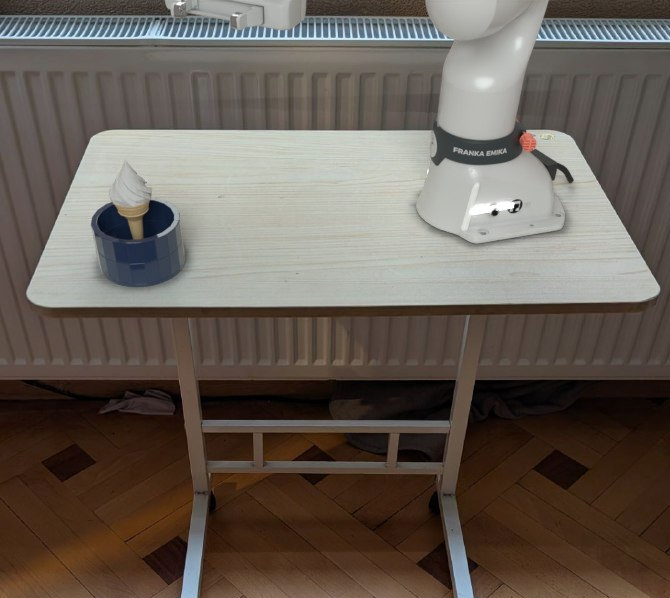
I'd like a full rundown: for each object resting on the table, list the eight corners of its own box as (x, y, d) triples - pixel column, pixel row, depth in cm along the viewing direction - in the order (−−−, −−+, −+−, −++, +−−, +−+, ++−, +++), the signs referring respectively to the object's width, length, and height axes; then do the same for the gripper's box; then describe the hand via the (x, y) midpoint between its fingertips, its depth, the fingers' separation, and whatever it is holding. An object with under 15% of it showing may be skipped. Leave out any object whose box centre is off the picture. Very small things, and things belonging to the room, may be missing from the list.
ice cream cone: (158, 271, 113) (143, 170, 103) (117, 269, 113) (98, 169, 103) (164, 248, 117) (151, 149, 107) (125, 246, 117) (107, 148, 107)
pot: (185, 237, 120) (180, 194, 116) (184, 284, 112) (179, 240, 107) (103, 241, 119) (95, 198, 114) (96, 289, 111) (87, 244, 106)
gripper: (190, -46, 123) (137, -19, 114) (314, -25, 117) (269, 5, 108) (194, -1, 127) (143, 29, 118) (314, 21, 122) (271, 54, 112)
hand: (204, 17), depth 113 cm, fingers open, 8 cm apart
